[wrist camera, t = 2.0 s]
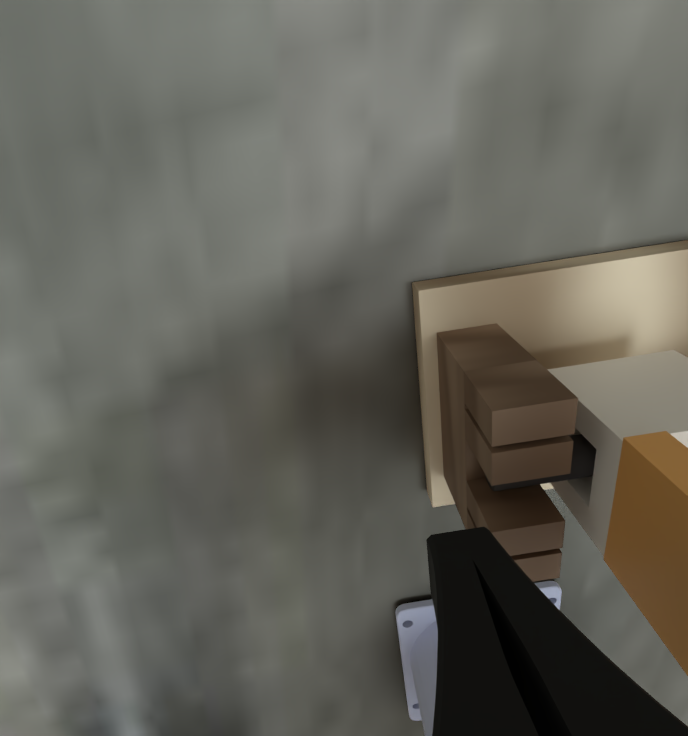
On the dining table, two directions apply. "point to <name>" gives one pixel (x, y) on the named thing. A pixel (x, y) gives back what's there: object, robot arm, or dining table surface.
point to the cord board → (531, 380)
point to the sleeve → (637, 480)
